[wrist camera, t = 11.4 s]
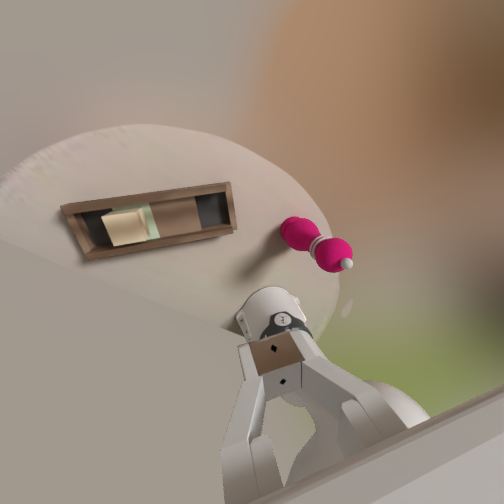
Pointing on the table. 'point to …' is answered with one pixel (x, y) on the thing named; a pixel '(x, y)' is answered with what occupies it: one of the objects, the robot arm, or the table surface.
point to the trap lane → (156, 218)
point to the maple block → (126, 226)
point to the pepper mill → (317, 244)
